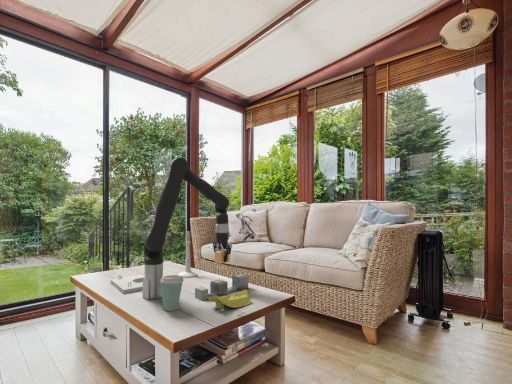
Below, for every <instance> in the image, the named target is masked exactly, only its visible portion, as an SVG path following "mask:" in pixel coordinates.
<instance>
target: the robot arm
mask: <svg viewBox="0 0 512 384" xmlns="http://www.w3.org/2000/svg"><path fill="white" fill-rule="evenodd" d="M183 180H184V181H185V182H187V183H188V184H189V185H190V186H192V187H193V188H195V190H196V191H197V192H199V193H200V194H202V196H203V197H204V198H206V199H207V200H209V201H212V203H214V210H215V240H216V241H214V242H212V247H213V252H214V254H215V252H216V251H223V252H224V262H225V263H228V262H227V260H228V255H229V254H230V255H231V252H232V247H233V244H232V243H229V241H228V240H229V239H230V237H229V236H230V235H229V234H230V232H229V229H230V228H229V214H228V212H227V210H228V207H229V206H230V200H229V198H228V197H227V196H225V195H224V194H223V193H221V192H219V191H218V190H217V189H216V188H215V187H213V186H212V185H211V184H210V183H208V181H206V180H204V179H203V178H201V177H200V176H198V175H197V174H195V173H194V171H192V170H191V169H190V168H189V163H188V161H187V159H186V158H184V157H181V156H180V157H176V158H174V159H172V161H171V163H170V164H169V174H168V178H167V180H166V183H165V184H164V186H163V188H162V191H161V194H160V196H159V198H158V201H157V204H156V208H155V217H154V221H153V226H152V228H151V231H150V232H149V233H148V234H147V235H146V236H145V238H144V242H143V246H144V247H143V252H144V253H143V257H144V274H143V275H144V278H143V282H142V283H143V290H142V298H144V299H146V300H149V301H150V300H154V299H160V298H162V292H161V283H160V280H161V278H162V277H163V274H164V256H163V247H164V246H165V242H166V236H167V231H168V228H169V224H170V222H171V220H172V217H173V215H174V212H175V210H176V206H177V203H178V198H179V196H180V192H181V191H180V190H181V186H182V183H183ZM225 251H226V253H225ZM228 251H229V252H228Z"/></svg>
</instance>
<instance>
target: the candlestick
mask: <svg viewBox="0 0 512 384" xmlns="http://www.w3.org/2000/svg"><path fill="white" fill-rule="evenodd" d="M190 235H191V234H190V231H186V241H185V244H186V251H185V252H186V253H185V268H184V271H181V272H180V273H179V272H178V274H177V275H179V276H182V278H183V279H191V278H195V277H197V276H198V273H197V272H196V271H193V270H191V250H190V249H191V248H190V244H191V242H192V241H191V240H190V239H191V237H190Z"/></svg>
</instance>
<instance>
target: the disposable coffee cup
mask: <svg viewBox="0 0 512 384" xmlns="http://www.w3.org/2000/svg"><path fill="white" fill-rule="evenodd" d="M183 282H184V278H182V276H179V275H178V274H175V275H174V274H172V275H166V276H164V277H162V278H161V280H160V283H161V292H162V297H161V300H162V301H161V302H162V307H163V310H164V311H169V312H170V311H171V312H172V311H176V310H178V308H179V303H180V298H181V292H182V287H183Z"/></svg>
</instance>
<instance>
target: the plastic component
mask: <svg viewBox="0 0 512 384" xmlns="http://www.w3.org/2000/svg"><path fill="white" fill-rule="evenodd" d="M207 300H208V301H210V303H215V307H216V309H218V310H219V309H222V308H225V306H226V307H228V308H232V309H233V308H235V309H236V308H241V307H246V306H249V305H250V304H251V302H252V301H251V297H250V294H249V292H248V289H245V290H242V291H239V292H236V293H232V294H231V293H230V294H227V295H225V296H220V297H218V296H216V295H215V296H212V297H208V299H207Z"/></svg>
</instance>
